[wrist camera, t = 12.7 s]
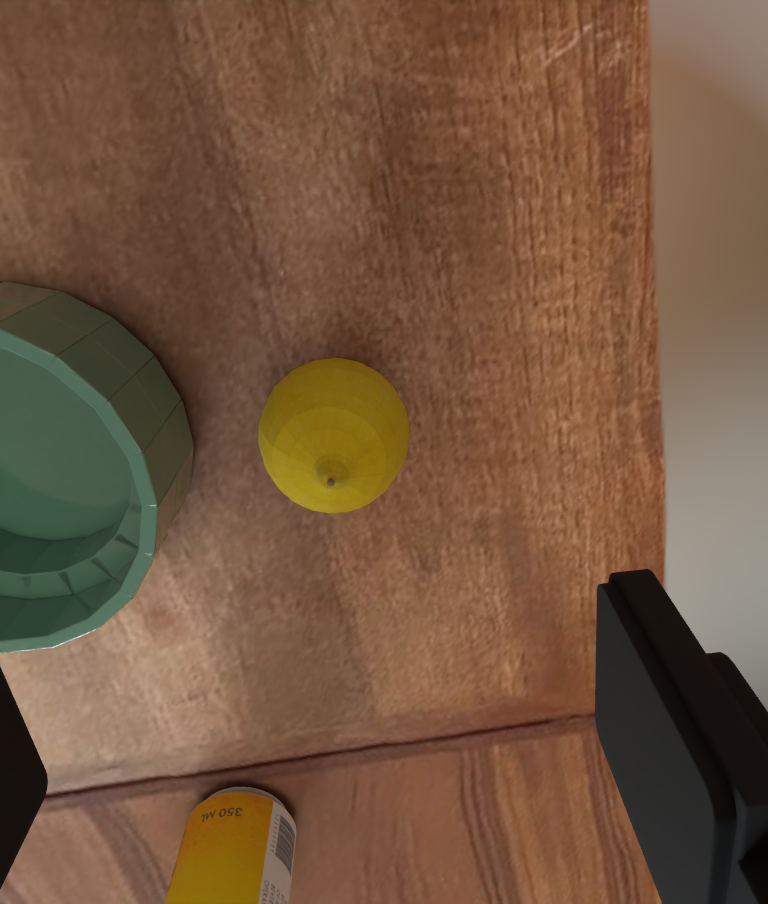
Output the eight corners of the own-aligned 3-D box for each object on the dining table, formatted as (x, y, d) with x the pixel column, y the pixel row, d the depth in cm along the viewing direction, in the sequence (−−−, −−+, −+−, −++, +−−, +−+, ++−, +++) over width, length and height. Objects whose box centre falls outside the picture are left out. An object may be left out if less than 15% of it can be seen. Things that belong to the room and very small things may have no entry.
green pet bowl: (-176, 302, 28) (-312, 341, 22) (152, 260, 27) (96, 290, 22) (-53, 581, 33) (-138, 669, 27) (224, 550, 32) (194, 633, 27)
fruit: (307, 311, 28) (285, 369, 21) (428, 372, 29) (447, 448, 22) (252, 425, 30) (213, 516, 23) (367, 479, 31) (366, 581, 24)
